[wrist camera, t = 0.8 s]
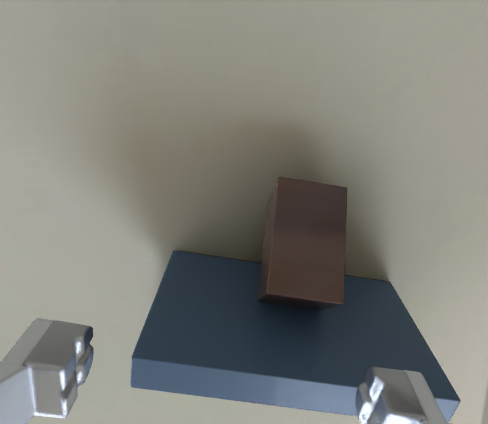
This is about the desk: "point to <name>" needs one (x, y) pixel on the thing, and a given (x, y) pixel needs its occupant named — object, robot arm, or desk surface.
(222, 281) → the bookend
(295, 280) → the walnut block
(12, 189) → the desk surface
